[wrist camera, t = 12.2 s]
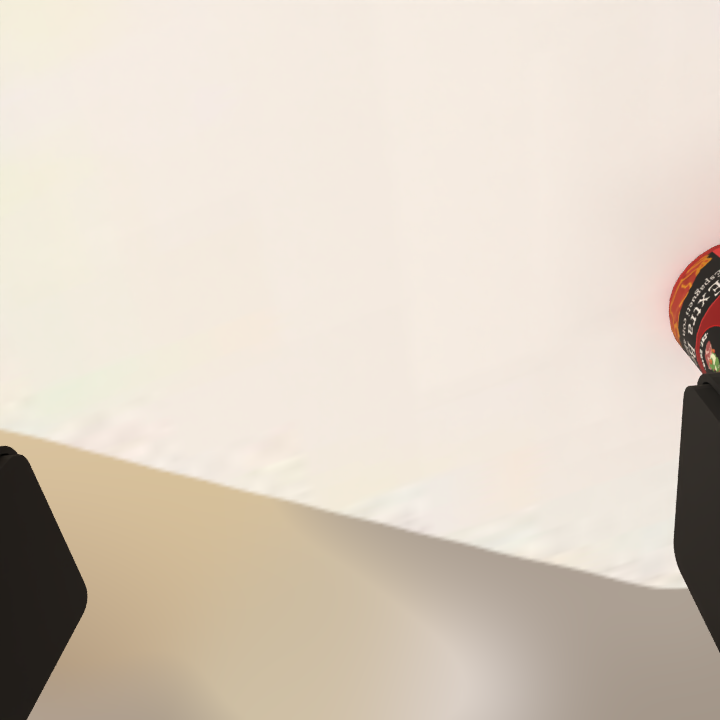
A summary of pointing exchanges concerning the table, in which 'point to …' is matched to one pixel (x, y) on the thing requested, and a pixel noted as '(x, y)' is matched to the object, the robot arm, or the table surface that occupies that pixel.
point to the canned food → (698, 311)
